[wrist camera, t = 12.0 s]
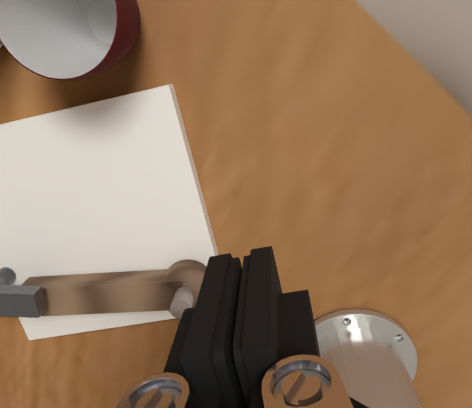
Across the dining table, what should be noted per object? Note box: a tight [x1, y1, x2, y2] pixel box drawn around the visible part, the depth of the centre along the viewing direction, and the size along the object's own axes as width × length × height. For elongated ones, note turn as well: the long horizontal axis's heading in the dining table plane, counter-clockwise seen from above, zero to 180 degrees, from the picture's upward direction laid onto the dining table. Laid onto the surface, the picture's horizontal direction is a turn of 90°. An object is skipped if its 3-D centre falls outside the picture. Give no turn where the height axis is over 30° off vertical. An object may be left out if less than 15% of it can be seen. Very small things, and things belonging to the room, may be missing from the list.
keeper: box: [0, 267, 47, 318], centre depth 40 cm, size 7×2×5 cm, turn 91°
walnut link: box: [21, 259, 207, 319], centre depth 39 cm, size 18×5×5 cm, turn 96°
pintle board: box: [0, 83, 219, 340], centre depth 41 cm, size 22×22×2 cm
